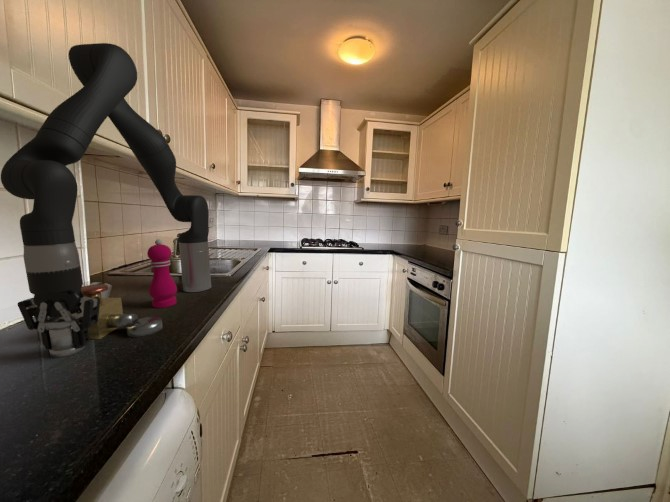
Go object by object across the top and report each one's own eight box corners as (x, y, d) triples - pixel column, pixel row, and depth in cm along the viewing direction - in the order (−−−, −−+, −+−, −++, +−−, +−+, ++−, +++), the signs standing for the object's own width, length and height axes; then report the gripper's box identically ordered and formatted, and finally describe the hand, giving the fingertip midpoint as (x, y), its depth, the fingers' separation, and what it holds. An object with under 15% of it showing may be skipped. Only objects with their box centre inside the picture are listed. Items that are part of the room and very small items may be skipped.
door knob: (66, 344, 59) (61, 314, 58) (91, 344, 59) (87, 313, 58) (42, 358, 54) (36, 324, 53) (70, 357, 54) (64, 323, 53)
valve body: (95, 324, 69) (89, 283, 67) (169, 322, 70) (165, 282, 69) (66, 339, 61) (59, 293, 60) (150, 337, 62) (145, 292, 61)
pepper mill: (173, 298, 89) (167, 237, 85) (182, 304, 84) (176, 239, 81) (147, 304, 83) (140, 239, 80) (155, 310, 79) (147, 241, 75)
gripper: (107, 262, 58) (117, 337, 61) (34, 262, 57) (48, 339, 60) (76, 270, 51) (89, 355, 53) (-8, 271, 50) (10, 357, 52)
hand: (67, 346), depth 57 cm, fingers closed on door knob, 5 cm apart
